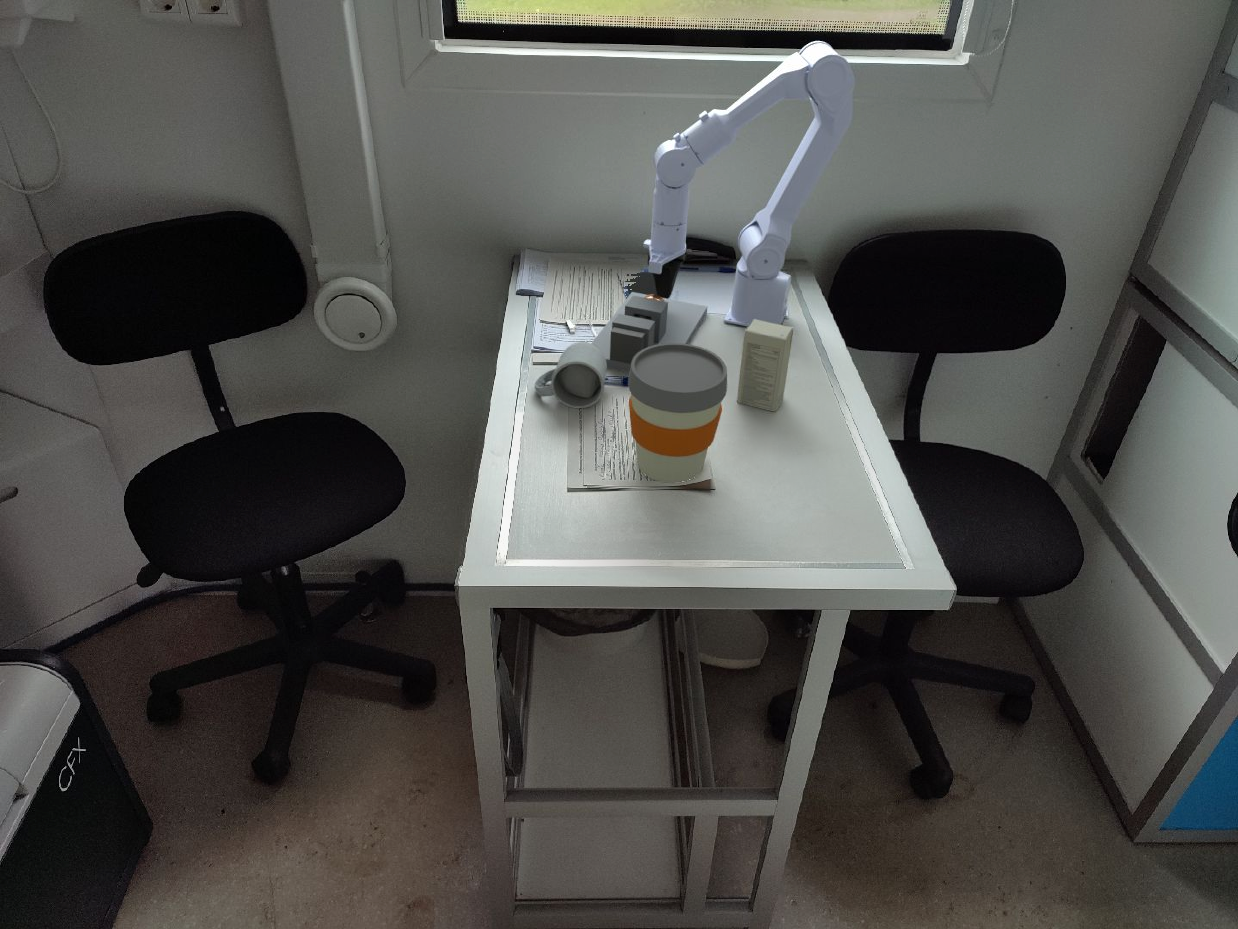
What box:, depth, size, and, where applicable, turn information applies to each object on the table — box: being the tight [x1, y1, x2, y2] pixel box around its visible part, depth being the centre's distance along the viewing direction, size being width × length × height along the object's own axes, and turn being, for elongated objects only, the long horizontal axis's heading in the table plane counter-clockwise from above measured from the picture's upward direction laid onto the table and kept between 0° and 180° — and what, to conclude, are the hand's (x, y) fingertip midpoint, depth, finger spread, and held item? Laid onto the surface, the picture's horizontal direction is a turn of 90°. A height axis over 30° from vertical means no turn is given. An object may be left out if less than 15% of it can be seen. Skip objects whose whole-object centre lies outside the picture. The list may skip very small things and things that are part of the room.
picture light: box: [565, 316, 598, 339], centre depth 145 cm, size 14×4×2 cm, turn 15°
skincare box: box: [736, 319, 795, 412], centre depth 126 cm, size 6×4×12 cm
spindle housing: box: [590, 292, 708, 373], centre depth 141 cm, size 14×24×7 cm, turn 161°
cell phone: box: [622, 268, 667, 299], centre depth 159 cm, size 7×14×1 cm, turn 10°
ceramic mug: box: [534, 341, 608, 409], centre depth 127 cm, size 11×8×8 cm
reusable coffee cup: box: [627, 343, 728, 484], centre depth 111 cm, size 13×12×15 cm
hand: (664, 296), depth 147 cm, fingers closed
